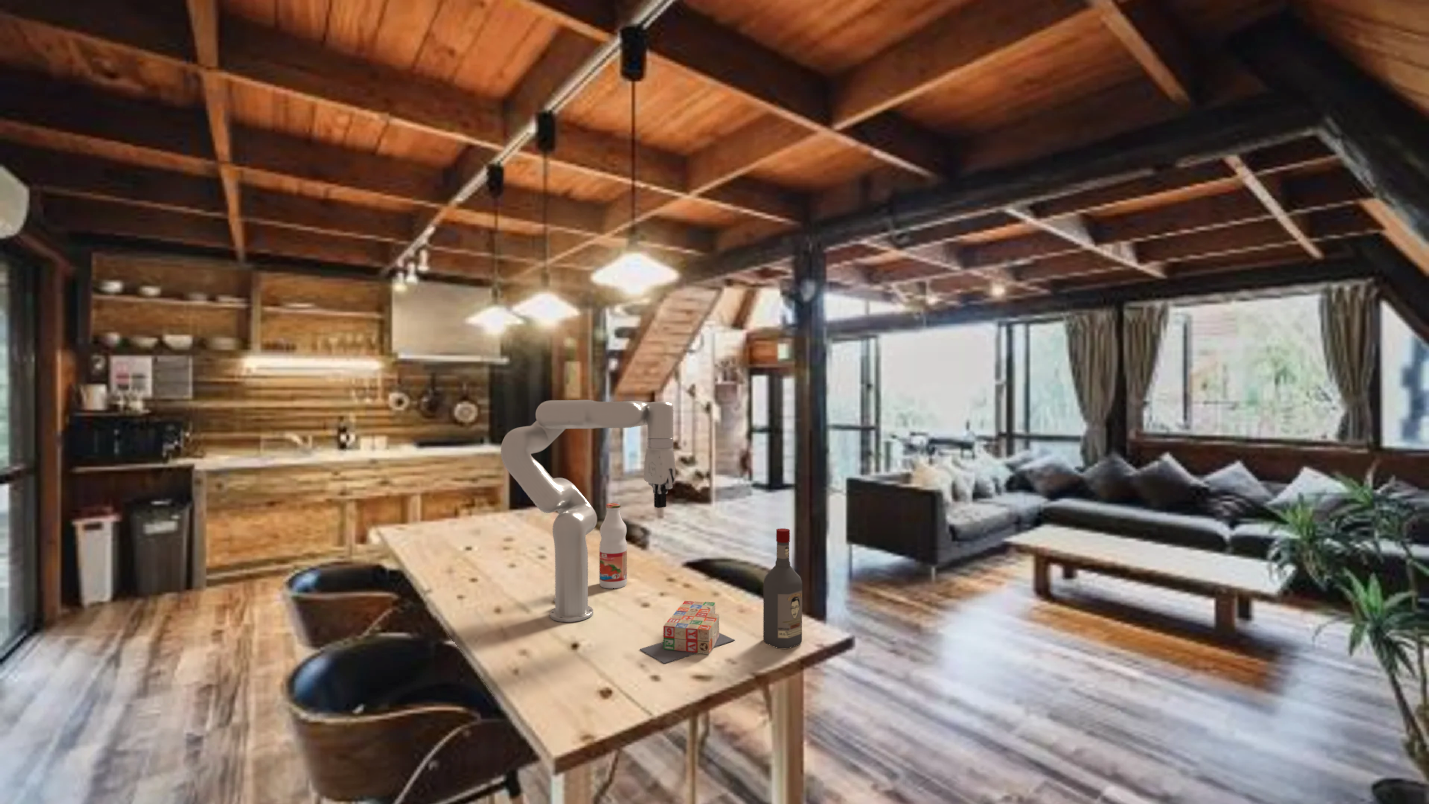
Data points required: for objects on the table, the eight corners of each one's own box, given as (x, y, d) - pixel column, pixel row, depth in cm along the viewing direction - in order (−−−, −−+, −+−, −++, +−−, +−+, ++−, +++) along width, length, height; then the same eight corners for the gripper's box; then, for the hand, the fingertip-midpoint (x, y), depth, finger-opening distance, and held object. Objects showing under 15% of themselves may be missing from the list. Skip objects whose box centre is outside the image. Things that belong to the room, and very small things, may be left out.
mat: (639, 650, 165) (639, 648, 165) (708, 629, 179) (708, 628, 179) (664, 664, 156) (664, 662, 156) (734, 640, 171) (734, 639, 171)
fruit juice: (632, 584, 221) (632, 503, 220) (612, 591, 213) (612, 507, 213) (614, 579, 227) (614, 500, 226) (593, 585, 219) (593, 504, 219)
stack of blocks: (684, 599, 185) (725, 603, 182) (684, 621, 185) (725, 624, 182) (663, 625, 164) (710, 629, 161) (663, 650, 164) (709, 654, 161)
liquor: (758, 640, 171) (758, 529, 171) (782, 632, 177) (782, 524, 177) (782, 651, 164) (783, 535, 164) (806, 642, 170) (807, 530, 170)
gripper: (635, 443, 189) (635, 505, 189) (664, 446, 177) (664, 512, 178) (656, 442, 194) (656, 502, 194) (686, 445, 182) (686, 509, 183)
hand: (660, 507), depth 186 cm, fingers closed
